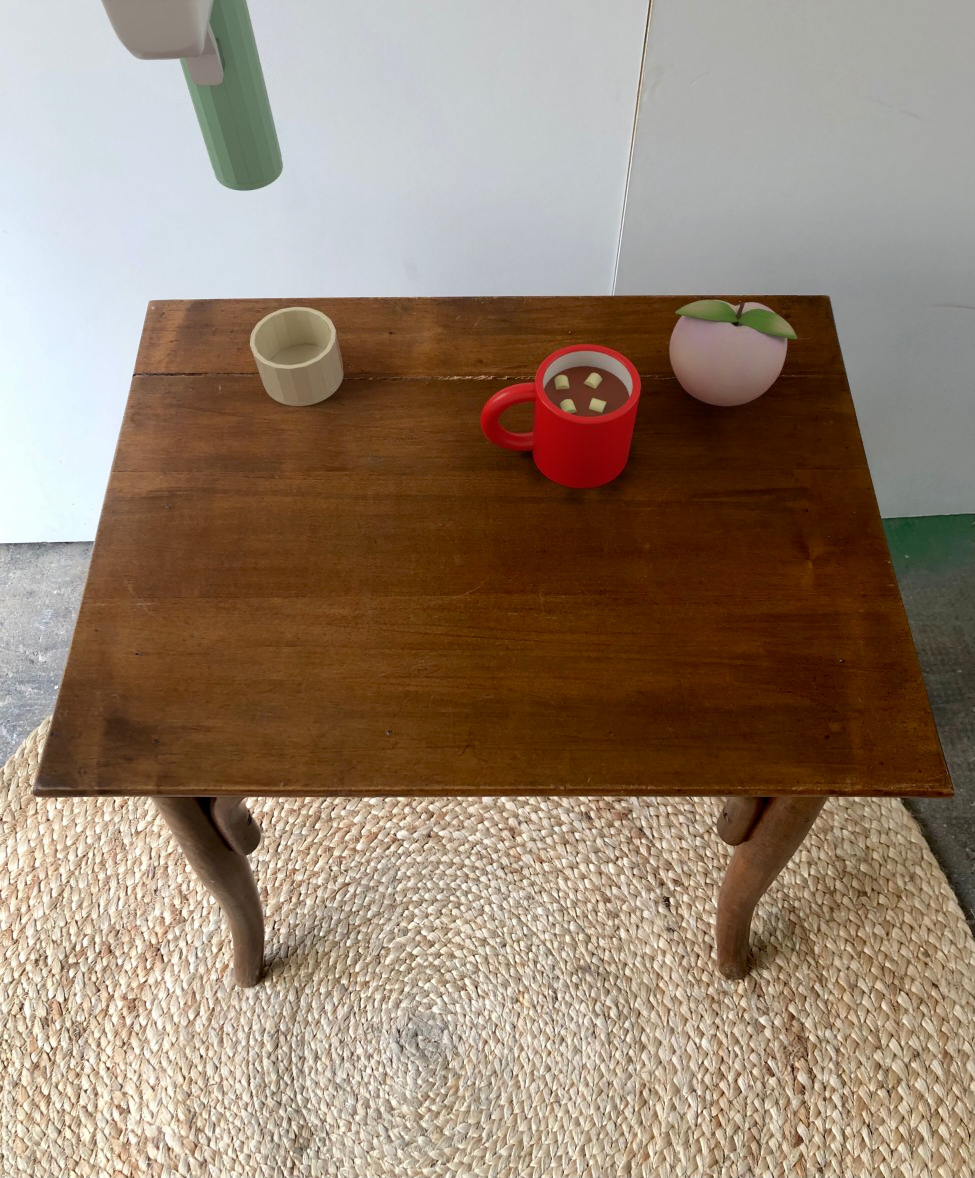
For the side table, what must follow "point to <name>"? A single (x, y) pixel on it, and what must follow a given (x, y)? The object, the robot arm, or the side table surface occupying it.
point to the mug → (573, 415)
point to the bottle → (237, 106)
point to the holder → (297, 356)
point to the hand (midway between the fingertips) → (215, 49)
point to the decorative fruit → (728, 350)
